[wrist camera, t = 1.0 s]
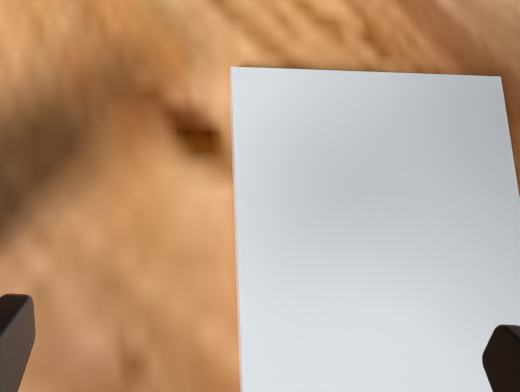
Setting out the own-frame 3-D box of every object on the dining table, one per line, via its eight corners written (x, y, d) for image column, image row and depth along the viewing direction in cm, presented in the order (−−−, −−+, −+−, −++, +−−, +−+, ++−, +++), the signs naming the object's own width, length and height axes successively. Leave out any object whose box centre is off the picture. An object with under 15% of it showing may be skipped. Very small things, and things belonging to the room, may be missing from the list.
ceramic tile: (542, 436, 24) (558, 443, 23) (242, 471, 21) (245, 480, 20) (489, 83, 28) (500, 76, 27) (229, 75, 25) (231, 66, 24)
